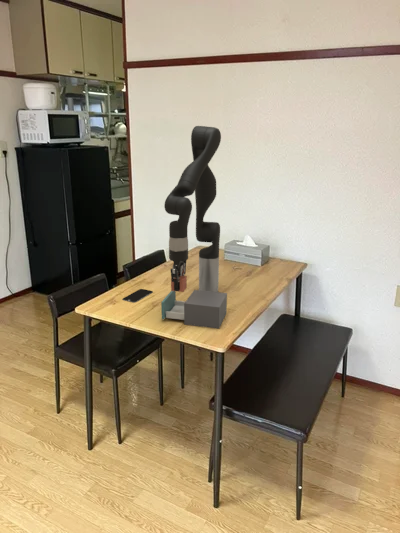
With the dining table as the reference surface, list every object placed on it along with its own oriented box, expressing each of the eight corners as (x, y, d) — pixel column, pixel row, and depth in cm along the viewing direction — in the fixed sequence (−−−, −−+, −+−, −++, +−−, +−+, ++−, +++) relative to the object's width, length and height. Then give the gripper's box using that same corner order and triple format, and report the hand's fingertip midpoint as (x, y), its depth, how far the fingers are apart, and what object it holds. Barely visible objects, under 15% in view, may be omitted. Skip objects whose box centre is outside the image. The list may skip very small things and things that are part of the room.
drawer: (171, 304, 186) (171, 288, 184) (203, 307, 183) (204, 291, 181) (159, 318, 172) (158, 301, 170) (194, 323, 169) (194, 305, 166)
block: (174, 286, 177) (174, 275, 176) (186, 287, 176) (186, 276, 175) (171, 290, 173) (171, 279, 171) (183, 292, 172) (183, 280, 170)
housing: (194, 309, 184) (194, 289, 181) (226, 313, 181) (227, 293, 178) (184, 324, 170) (184, 303, 167) (219, 328, 167) (219, 307, 164)
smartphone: (120, 299, 194) (140, 288, 206) (121, 300, 194) (140, 289, 206) (134, 302, 190) (154, 291, 203) (134, 304, 190) (154, 292, 203)
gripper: (174, 242, 177) (175, 281, 182) (163, 251, 163) (164, 293, 169) (192, 243, 175) (192, 283, 180) (182, 253, 162) (182, 295, 167)
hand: (178, 288), depth 174 cm, fingers closed on block, 5 cm apart
